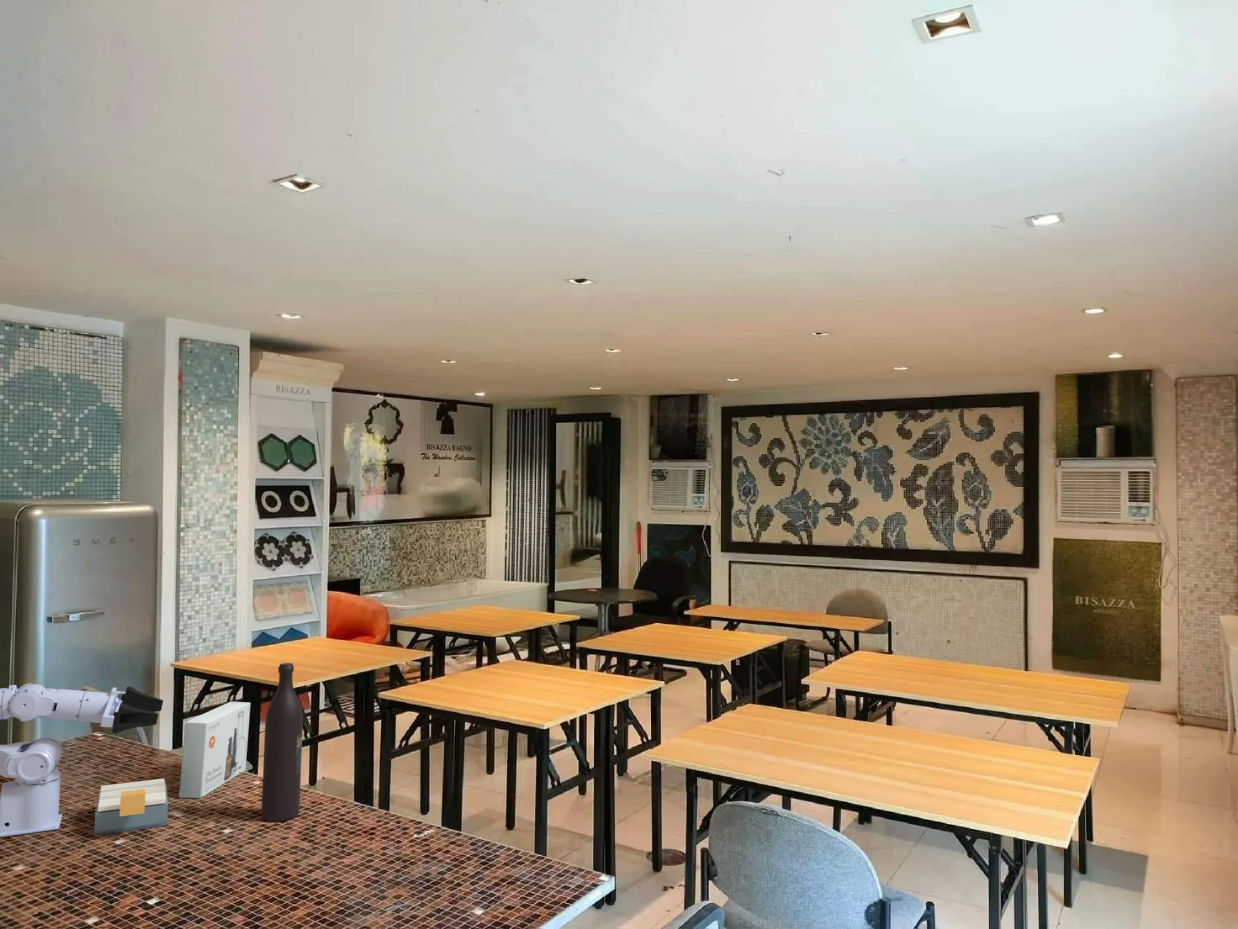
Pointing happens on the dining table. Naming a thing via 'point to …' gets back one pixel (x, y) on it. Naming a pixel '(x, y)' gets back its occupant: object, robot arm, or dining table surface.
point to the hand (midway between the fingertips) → (159, 712)
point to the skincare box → (214, 749)
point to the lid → (132, 796)
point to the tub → (130, 819)
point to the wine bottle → (282, 751)
